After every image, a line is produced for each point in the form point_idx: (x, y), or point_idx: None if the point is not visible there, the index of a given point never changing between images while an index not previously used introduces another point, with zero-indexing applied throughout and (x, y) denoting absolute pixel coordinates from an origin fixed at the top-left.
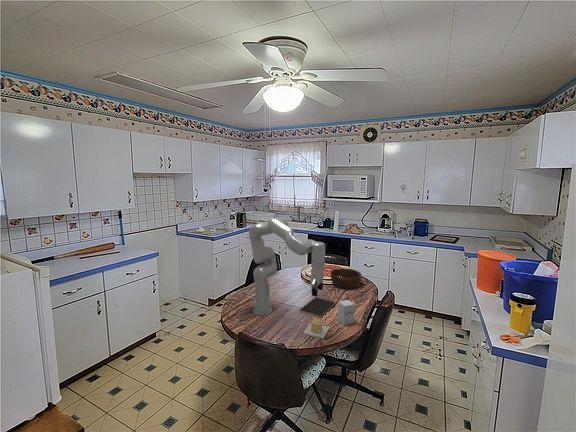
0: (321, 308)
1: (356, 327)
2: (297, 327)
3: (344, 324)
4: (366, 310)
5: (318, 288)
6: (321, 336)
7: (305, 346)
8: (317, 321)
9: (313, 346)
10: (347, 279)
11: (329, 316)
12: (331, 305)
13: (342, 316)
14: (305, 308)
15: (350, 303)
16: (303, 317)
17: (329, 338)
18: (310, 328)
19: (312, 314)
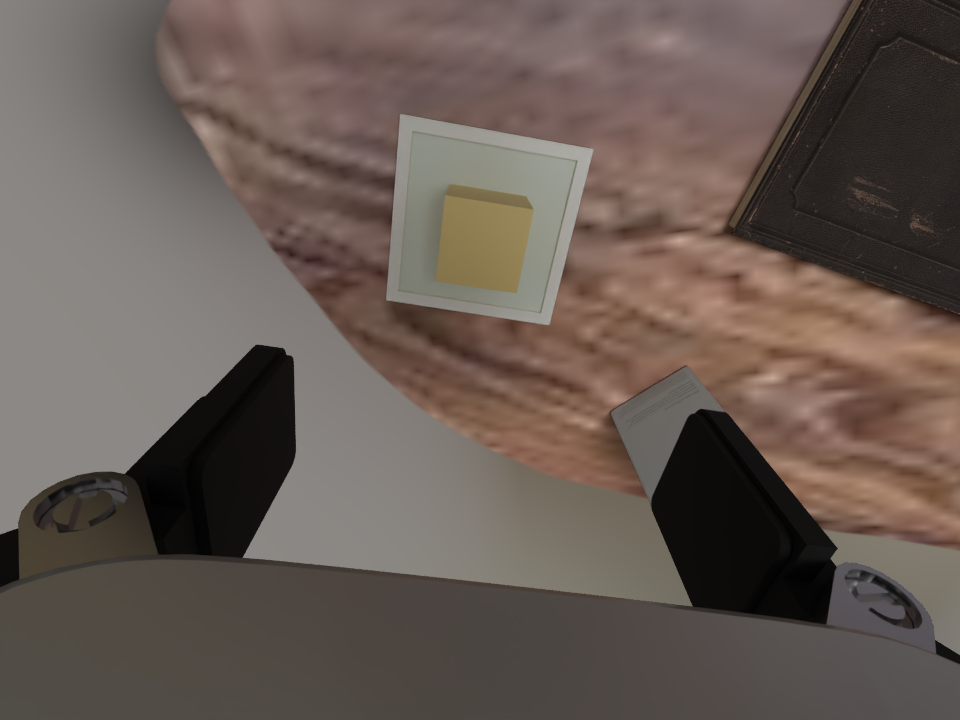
0: (887, 219)
1: (598, 478)
2: (507, 17)
3: (613, 418)
4: (840, 527)
5: (689, 452)
6: (393, 283)
7: (235, 172)
8: (502, 250)
9: (265, 236)
10: None
11: (751, 299)
12: (941, 307)
13: (648, 436)
14: (912, 23)
15: None
16: (727, 39)
17: (413, 333)
18: (501, 167)
19: (782, 136)
